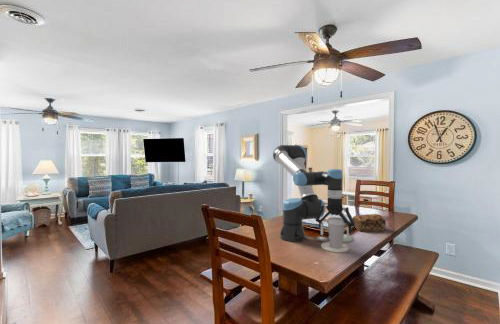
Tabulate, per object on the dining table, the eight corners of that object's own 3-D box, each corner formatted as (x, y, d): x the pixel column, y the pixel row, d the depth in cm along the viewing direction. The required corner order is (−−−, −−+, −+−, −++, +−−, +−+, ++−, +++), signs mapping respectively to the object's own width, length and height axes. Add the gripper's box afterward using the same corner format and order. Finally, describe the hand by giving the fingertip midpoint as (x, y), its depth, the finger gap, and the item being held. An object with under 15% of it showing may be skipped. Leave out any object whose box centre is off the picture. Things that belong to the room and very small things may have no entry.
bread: (377, 227, 175) (377, 212, 175) (386, 231, 165) (386, 216, 164) (351, 227, 174) (351, 213, 174) (359, 232, 163) (359, 217, 163)
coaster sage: (326, 239, 148) (326, 238, 148) (331, 233, 160) (331, 232, 160) (351, 243, 141) (351, 242, 141) (354, 236, 153) (354, 235, 153)
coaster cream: (318, 249, 132) (318, 247, 132) (324, 241, 144) (324, 240, 144) (346, 254, 125) (346, 253, 125) (350, 246, 137) (350, 244, 137)
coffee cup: (349, 247, 133) (349, 219, 133) (338, 251, 128) (338, 222, 128) (333, 242, 141) (334, 215, 141) (323, 245, 136) (323, 218, 135)
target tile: (315, 240, 147) (315, 239, 147) (318, 237, 153) (318, 235, 153) (327, 242, 143) (327, 241, 143) (329, 238, 149) (329, 237, 149)
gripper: (310, 196, 137) (310, 234, 138) (359, 200, 125) (358, 242, 125) (313, 194, 144) (313, 231, 144) (360, 198, 131) (360, 238, 132)
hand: (334, 236), depth 135 cm, fingers open, 13 cm apart
